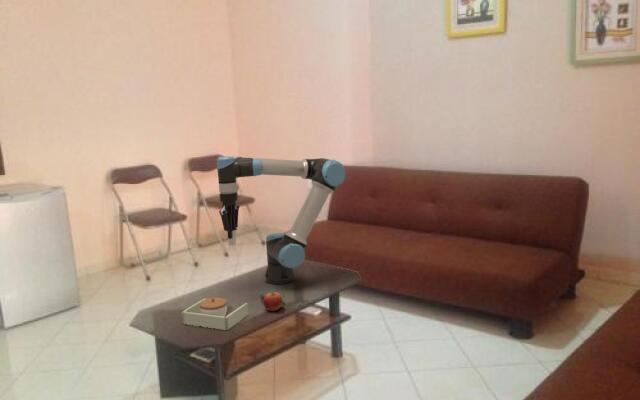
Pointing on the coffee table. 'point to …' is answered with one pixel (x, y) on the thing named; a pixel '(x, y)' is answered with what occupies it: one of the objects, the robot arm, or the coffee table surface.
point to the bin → (213, 317)
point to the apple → (272, 301)
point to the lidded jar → (214, 306)
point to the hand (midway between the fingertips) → (232, 245)
